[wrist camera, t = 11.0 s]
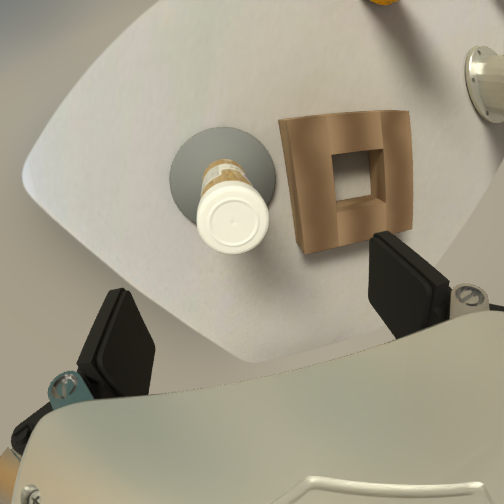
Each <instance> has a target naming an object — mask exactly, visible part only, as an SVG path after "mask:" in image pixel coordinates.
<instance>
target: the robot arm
mask: <svg viewBox="0 0 504 504" xmlns="http://www.w3.org/2000/svg"><path fill="white" fill-rule="evenodd" d="M466 82H467V87H468V91H469V94H470V97H471V99H472V102H473V104H474V106H475V108H476V109H477V111H478V112H479V114H480V115H481V116H482V117H483V118H484V119H485V120H487V121H488V122H491V123H498V124H499V123H502V122H503V121H504V55H497V53H496V52H494V51H493V50H492V49H490V48H488V47H486V46H477V47H474V48H473V49H472V50H471V51H470V52H469V54H468V57H467V60H466ZM449 282H450V281H449V280H448V279H447V278H446V277H444V276H443V275H442V274H441V273H440V272H439V271H437V270H436V269H435V268H434V267H433V266H432V265H430V264H429V263H428V262H427V261H426V260H424V259H423V258H422V257H421V256H420V255H418V254H417V253H416V252H415V251H413V250H412V249H411V248H410V247H408V246H407V245H406V244H405V243H403V242H402V241H401V240H400V239H398V238H397V237H396V236H395V235H393V234H392V233H391V232H389V231H382V232H378V233H374V234H373V238H370V241H369V286H368V298H369V301H370V303H371V305H372V306H373V308H374V309H375V310H376V312H377V313H378V314H379V316H380V317H381V318H382V320H383V321H384V323H385V324H386V325H387V327H388V328H389V329H390V331H391V332H392V334H393V335H394V336H395V338H396V340H393V341H390V342H387V343H384V344H381V345H378V346H376V347H372V348H369V349H366V350H363V351H360V352H357V353H354V354H350V355H347V356H344V357H340V358H337V359H333V360H330V361H326V362H323V363H319V364H315V365H312V366H308V367H304V368H300V369H296V370H292V371H288V372H283V373H279V374H275V375H270V376H266V377H261V378H256V379H251V380H246V381H241V382H236V383H230V384H224V385H219V386H213V387H206V388H200V389H193V390H186V391H178V392H171V393H161V394H151V395H148V393H149V386H150V380H151V373H152V367H153V361H154V355H155V345H154V342H153V340H152V337H151V335H150V333H149V331H148V329H147V327H146V325H145V323H144V321H143V319H142V317H141V315H140V312H139V310H138V308H137V306H136V304H135V302H134V299H133V297H132V295H131V293H130V292H129V291H126V290H125V289H124V288H119V289H114V290H110V291H109V292H108V294H107V296H106V298H105V300H104V302H103V305H102V307H101V309H100V311H99V313H98V315H97V317H96V319H95V321H94V324H93V326H92V328H91V331H90V333H89V335H88V337H87V340H86V342H85V344H84V346H83V349H82V351H81V354H80V356H79V359H78V361H77V365H78V370H77V372H75V371H67V372H63V373H61V374H59V375H58V376H57V377H55V378H54V379H53V381H52V382H51V383H50V385H49V388H48V398H49V400H50V402H48V403H47V404H46V405H44V406H43V407H42V408H40V409H39V410H38V411H37V412H35V413H34V414H32V415H31V416H30V417H28V418H27V419H26V420H25V421H23V422H22V423H20V424H19V425H18V426H17V427H16V428H15V429H14V431H13V434H12V437H11V444H12V447H13V448H12V449H10V448H9V447H8V448H7V449H6V450H5V451H4V453H3V454H2V455H1V456H0V504H504V307H503V306H498V305H493V304H489V300H488V296H487V294H486V292H485V291H484V290H483V289H481V288H480V287H478V286H476V285H473V284H465V283H464V284H459V285H457V286H455V287H454V288H453V289H451V288H450V287H449Z"/></svg>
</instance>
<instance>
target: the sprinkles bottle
mask: <svg viewBox="0 0 504 504" xmlns="http://www.w3.org/2000/svg"><path fill="white" fill-rule="evenodd" d="M202 180H203V183H202V190H201V198H200V202H199V205H198V209H197V229H198V232H199V235H200V236H201V238H202V240H203V241H204V242H205V243H206V244H207V245H208V246H209V247H210V248H211V249H213V250H215V251H217V252H219V253H222V254H227V255H237V254H242V253H245V252H248V251H250V250H252V249H253V248H255V247H256V246H257V245H258V244H259V243H260V242H261V241H262V240H263V238H264V237H265V235H266V233H267V230H268V227H269V212H268V208H267V206H266V204H265V202H264V200H263V198H262V197H261V195H260V194H259V193H258V191H257V190H255V189H254V188H253V186H252V184H251V183H250V181H249V179H248V177H247V176H246V174H245V171H244V170H243V168H242V166H241V165H239V164H238V163H237V162H235V161H233V160H230V159H221V160H217V161H214V162H213V163H211V164H210V165H209V166H208V167H207V168H206V170H205V171H204V174H203V178H202Z"/></svg>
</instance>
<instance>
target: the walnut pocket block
mask: <svg viewBox="0 0 504 504" xmlns="http://www.w3.org/2000/svg"><path fill="white" fill-rule="evenodd" d="M278 122H279V128H280V134H281V140H282V146H283V152H284V158H285V165H286V171H287V178H288V185H289V191H290V198H291V206H292V213H293V220H294V228H295V236H296V242H297V244H298V245H299V247H300V248H301V250H302V251H303V253H304V254H310V253H314V252H318V251H323V250H327V249H331V248H335V247H340V246H344V245H348V244H352V243H356V242H361V241H365V240H369V239H370V238H373V234H374V233H378V232H382V231H389V232H391V233H392V234H394V233H398V232H402V231H406V230H410V229H412V222H413V160H412V141H411V127H410V116H409V111H399V110H380V111H360V112H345V113H333V114H322V115H313V116H304V117H296V118H289V119H282V120H278ZM365 150H368V152H369V165H370V180H371V195H367V196H362V197H356V198H351V199H346V200H340V201H336V197H335V186H334V176H333V166H332V157H331V155H334V154H341V153H348V152H356V151H365Z"/></svg>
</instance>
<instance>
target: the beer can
mask: <svg viewBox="0 0 504 504" xmlns="http://www.w3.org/2000/svg"><path fill="white" fill-rule="evenodd" d="M370 1H372V2H374V3H376V4H379V5H390V4H392V3H394V2H396V1H398V0H370Z"/></svg>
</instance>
